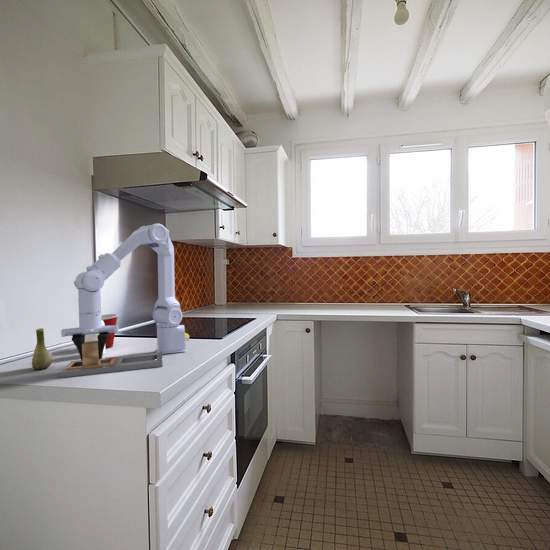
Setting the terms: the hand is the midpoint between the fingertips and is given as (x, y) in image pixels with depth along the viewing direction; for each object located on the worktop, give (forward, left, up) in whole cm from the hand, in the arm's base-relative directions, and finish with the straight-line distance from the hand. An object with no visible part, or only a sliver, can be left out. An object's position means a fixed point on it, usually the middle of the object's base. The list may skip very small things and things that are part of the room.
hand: (91, 358), depth 98 cm
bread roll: (-25, -31, -3) cm, 41 cm away
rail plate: (-6, 0, -3) cm, 7 cm away
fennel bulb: (+15, -7, -3) cm, 16 cm away
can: (+3, -19, -3) cm, 19 cm away
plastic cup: (+2, -30, -3) cm, 30 cm away
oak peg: (0, 0, -2) cm, 2 cm away
